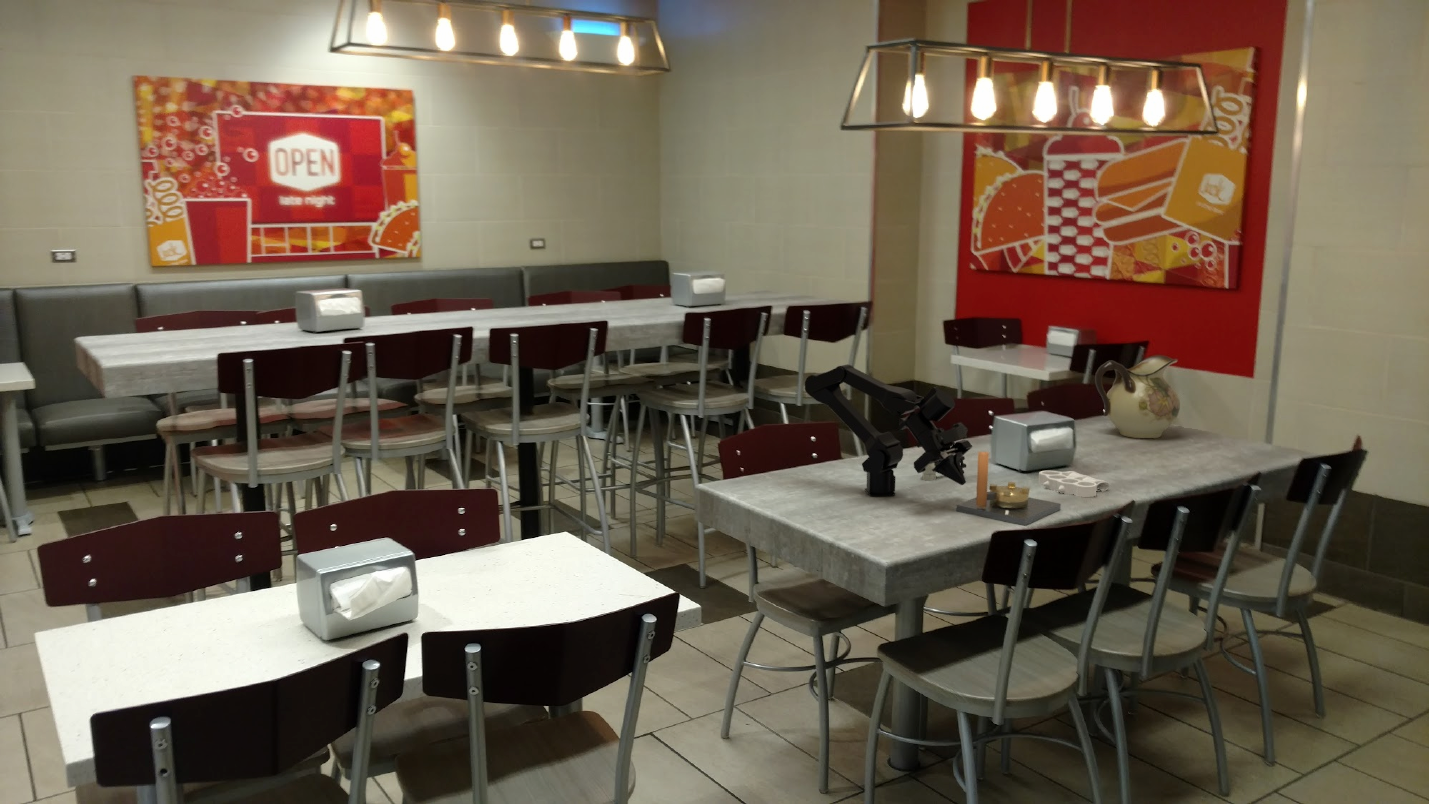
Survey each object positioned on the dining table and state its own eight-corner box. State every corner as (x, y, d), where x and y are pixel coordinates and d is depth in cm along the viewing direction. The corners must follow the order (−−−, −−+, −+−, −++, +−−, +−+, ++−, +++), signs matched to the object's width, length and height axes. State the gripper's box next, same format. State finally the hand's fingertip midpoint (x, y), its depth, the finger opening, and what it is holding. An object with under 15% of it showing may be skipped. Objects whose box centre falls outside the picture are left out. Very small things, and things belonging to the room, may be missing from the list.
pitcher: (1189, 434, 348) (1193, 356, 344) (1159, 446, 331) (1164, 365, 327) (1120, 425, 363) (1124, 351, 359) (1089, 436, 347) (1092, 359, 342)
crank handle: (1012, 496, 269) (1014, 444, 267) (1035, 505, 261) (1038, 452, 259) (965, 502, 264) (968, 449, 262) (988, 512, 256) (990, 457, 254)
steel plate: (956, 511, 263) (956, 504, 263) (993, 496, 276) (993, 489, 276) (1025, 525, 251) (1025, 518, 251) (1060, 509, 264) (1060, 502, 264)
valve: (930, 482, 290) (966, 477, 295) (930, 458, 289) (967, 454, 294) (915, 477, 296) (950, 472, 301) (916, 453, 295) (951, 449, 300)
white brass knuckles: (1118, 495, 279) (1074, 501, 273) (1067, 479, 295) (1025, 485, 289) (1119, 482, 278) (1075, 488, 272) (1068, 467, 294) (1026, 472, 288)
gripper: (926, 418, 256) (965, 471, 251) (966, 407, 270) (1005, 457, 264) (897, 446, 263) (935, 498, 258) (938, 434, 277) (975, 483, 271)
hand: (964, 483), depth 263 cm, fingers closed
